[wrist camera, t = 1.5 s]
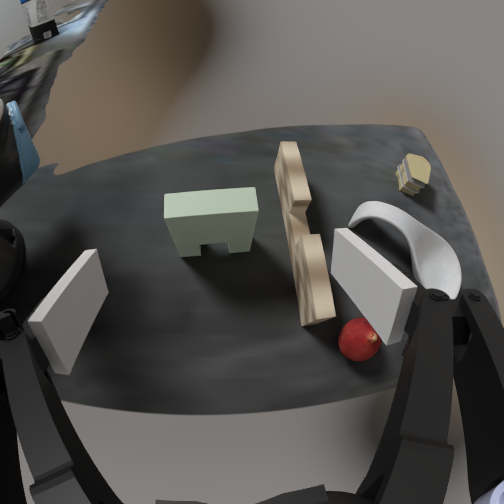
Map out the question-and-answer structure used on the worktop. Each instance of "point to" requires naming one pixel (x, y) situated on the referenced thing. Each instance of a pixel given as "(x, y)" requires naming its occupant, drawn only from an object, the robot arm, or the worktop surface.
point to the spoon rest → (418, 247)
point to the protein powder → (39, 19)
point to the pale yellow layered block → (413, 174)
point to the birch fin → (302, 239)
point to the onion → (359, 340)
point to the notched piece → (211, 219)
